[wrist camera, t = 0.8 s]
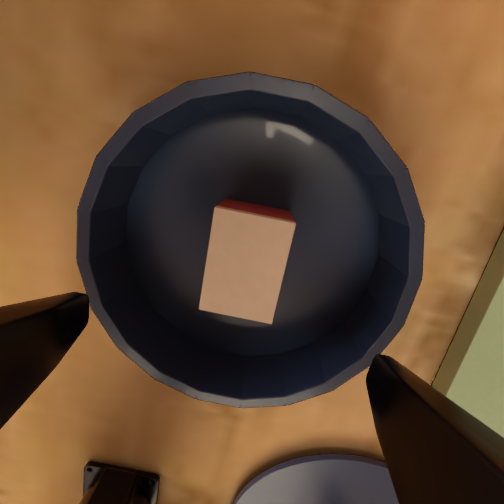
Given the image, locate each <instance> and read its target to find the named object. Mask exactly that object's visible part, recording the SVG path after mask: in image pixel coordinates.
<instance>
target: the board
mask: <svg viewBox="0 0 504 504" xmlns="http://www.w3.org/2000/svg"><path fill="white" fill-rule="evenodd" d="M432 387H433V388H435V389H436V390H438V391H439V392H440V393H442V394H443V395H445V396H446V397H447V398H449V399H450V400H452V401H453V402H454V403H456V404H457V405H459V406H460V407H462V408H463V409H464V410H466V411H467V412H469V413H470V414H471V415H473V416H474V417H476V418H477V419H478V420H480V421H481V422H483V423H484V424H485V425H487V426H488V427H490V428H491V429H492V430H494V431H495V432H497V433H498V434H499V435H501V436H502V437H504V230H503V232H502V234H501V236H500V238H499V240H498V243H497V245H496V247H495V249H494V251H493V253H492V256H491V258H490V260H489V262H488V264H487V267H486V269H485V271H484V273H483V275H482V277H481V280H480V282H479V284H478V286H477V288H476V290H475V293H474V295H473V297H472V299H471V301H470V304H469V306H468V308H467V310H466V312H465V314H464V317H463V319H462V321H461V323H460V325H459V327H458V330H457V332H456V334H455V336H454V338H453V341H452V343H451V345H450V347H449V349H448V351H447V354H446V356H445V358H444V360H443V362H442V364H441V367H440V369H439V371H438V373H437V375H436V378H435V380H434V382H433V384H432Z"/></svg>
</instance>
